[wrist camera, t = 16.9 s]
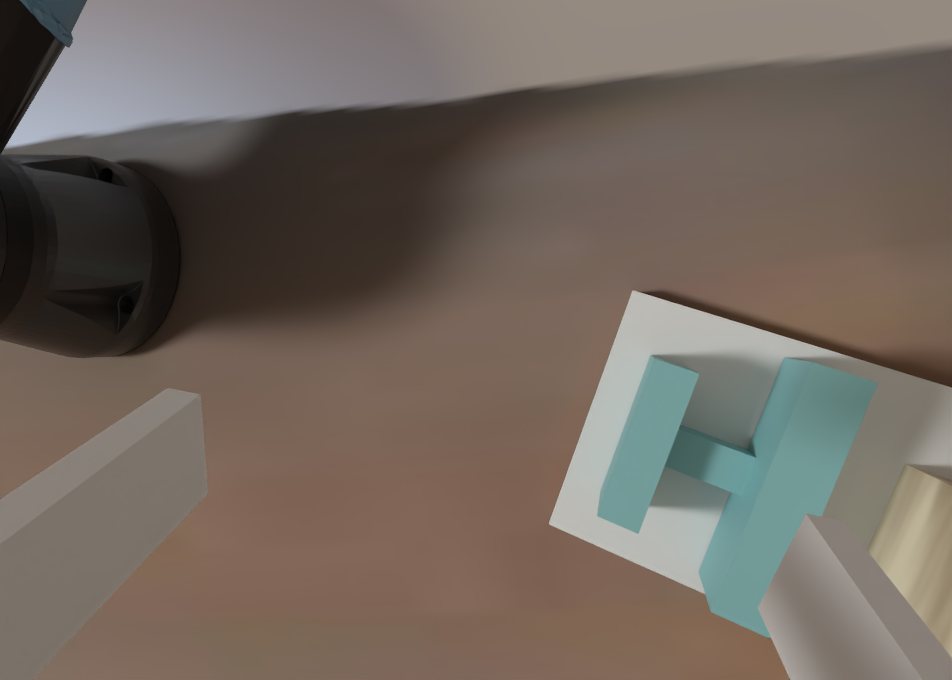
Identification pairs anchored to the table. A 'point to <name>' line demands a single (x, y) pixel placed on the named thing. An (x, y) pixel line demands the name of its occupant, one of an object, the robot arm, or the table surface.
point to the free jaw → (740, 470)
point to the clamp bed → (738, 432)
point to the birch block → (919, 547)
